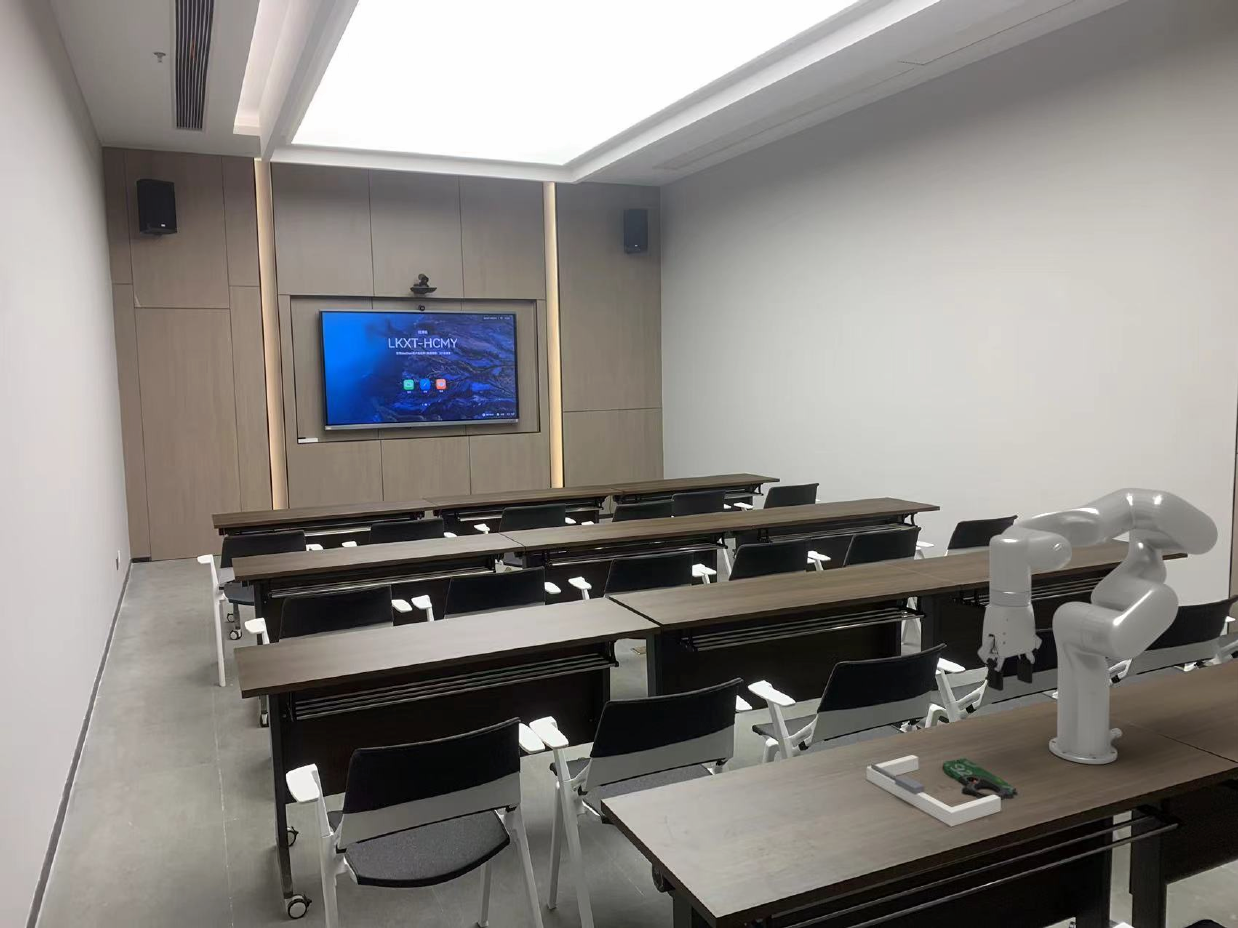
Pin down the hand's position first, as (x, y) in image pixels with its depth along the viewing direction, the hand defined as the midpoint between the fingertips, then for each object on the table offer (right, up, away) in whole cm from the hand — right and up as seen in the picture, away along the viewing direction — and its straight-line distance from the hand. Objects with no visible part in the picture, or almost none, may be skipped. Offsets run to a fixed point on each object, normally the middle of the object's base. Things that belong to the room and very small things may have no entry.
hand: (1010, 684), depth 177 cm
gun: (-8, -19, -3) cm, 21 cm away
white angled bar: (-19, -19, -8) cm, 28 cm away
